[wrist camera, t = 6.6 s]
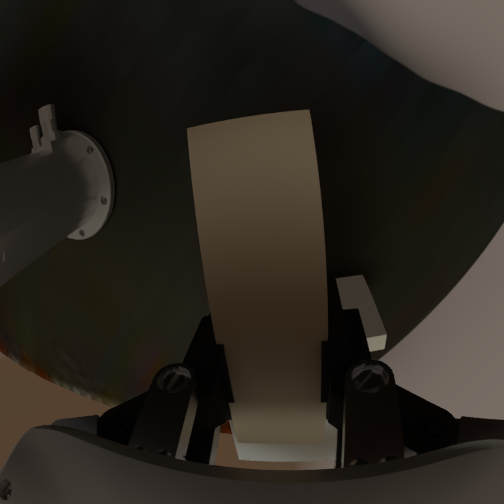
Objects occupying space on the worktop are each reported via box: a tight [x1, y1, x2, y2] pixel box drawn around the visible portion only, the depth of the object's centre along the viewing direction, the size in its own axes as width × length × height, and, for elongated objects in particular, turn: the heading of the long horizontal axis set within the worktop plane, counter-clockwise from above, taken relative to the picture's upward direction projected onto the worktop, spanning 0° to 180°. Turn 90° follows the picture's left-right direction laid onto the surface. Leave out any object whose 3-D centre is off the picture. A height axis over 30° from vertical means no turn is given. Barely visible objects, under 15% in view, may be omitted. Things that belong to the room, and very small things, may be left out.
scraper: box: [187, 110, 337, 461], centre depth 9 cm, size 16×6×4 cm, turn 9°
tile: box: [336, 275, 387, 351], centre depth 24 cm, size 2×8×9 cm, turn 102°
